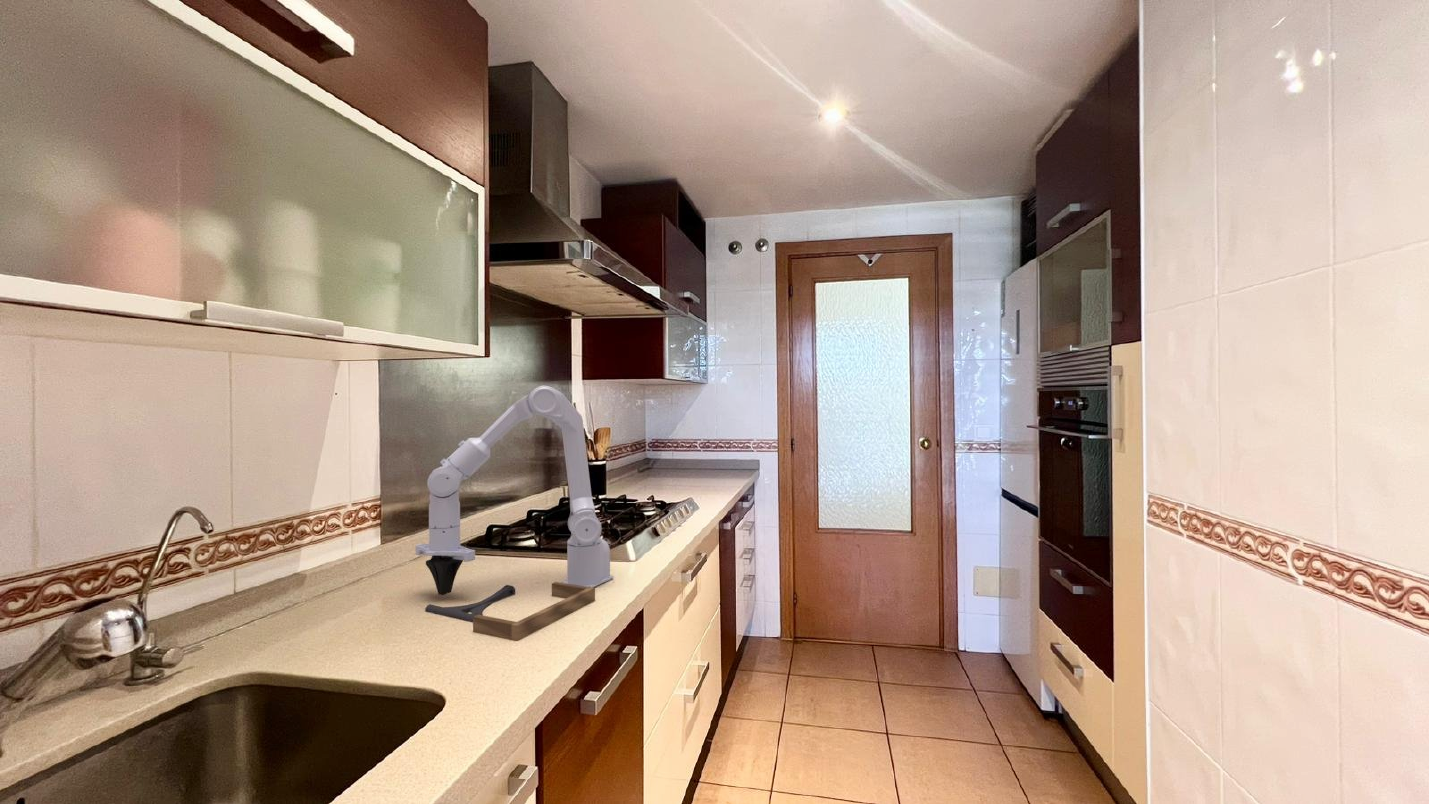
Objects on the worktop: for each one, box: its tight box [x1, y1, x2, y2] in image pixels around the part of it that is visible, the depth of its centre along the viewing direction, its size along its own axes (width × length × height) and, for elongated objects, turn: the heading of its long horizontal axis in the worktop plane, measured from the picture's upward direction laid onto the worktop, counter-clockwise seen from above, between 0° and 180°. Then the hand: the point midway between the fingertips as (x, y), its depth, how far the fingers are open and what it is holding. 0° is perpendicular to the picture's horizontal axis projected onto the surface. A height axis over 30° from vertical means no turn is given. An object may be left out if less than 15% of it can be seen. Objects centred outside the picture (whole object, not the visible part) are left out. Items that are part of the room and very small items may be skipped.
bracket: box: [424, 584, 516, 624], centre depth 112 cm, size 14×15×3 cm
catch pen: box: [472, 581, 596, 642], centre depth 106 cm, size 21×10×2 cm, turn 156°
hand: (444, 593), depth 116 cm, fingers closed
